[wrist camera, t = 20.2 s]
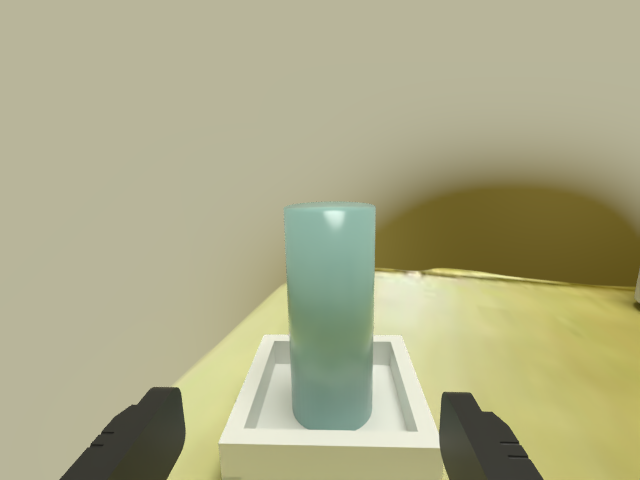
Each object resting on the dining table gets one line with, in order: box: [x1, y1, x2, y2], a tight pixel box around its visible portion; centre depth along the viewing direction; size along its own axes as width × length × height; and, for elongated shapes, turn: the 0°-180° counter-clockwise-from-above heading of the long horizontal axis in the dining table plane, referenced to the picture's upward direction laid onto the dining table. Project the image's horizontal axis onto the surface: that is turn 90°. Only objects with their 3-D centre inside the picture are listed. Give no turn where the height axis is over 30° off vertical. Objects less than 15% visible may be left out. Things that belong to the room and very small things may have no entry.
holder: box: [218, 335, 443, 480], centre depth 22 cm, size 11×11×2 cm
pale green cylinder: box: [284, 202, 376, 431], centre depth 21 cm, size 5×5×13 cm
